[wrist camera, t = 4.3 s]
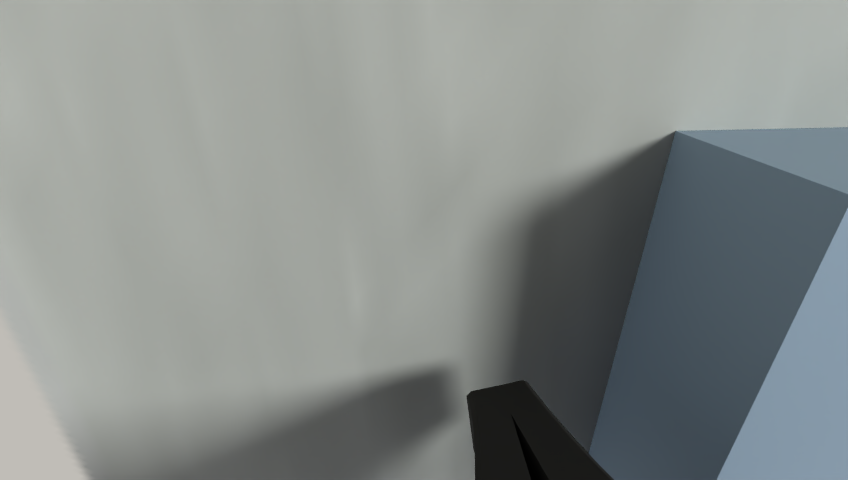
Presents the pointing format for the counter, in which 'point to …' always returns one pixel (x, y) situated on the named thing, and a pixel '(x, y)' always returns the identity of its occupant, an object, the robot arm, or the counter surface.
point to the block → (737, 316)
